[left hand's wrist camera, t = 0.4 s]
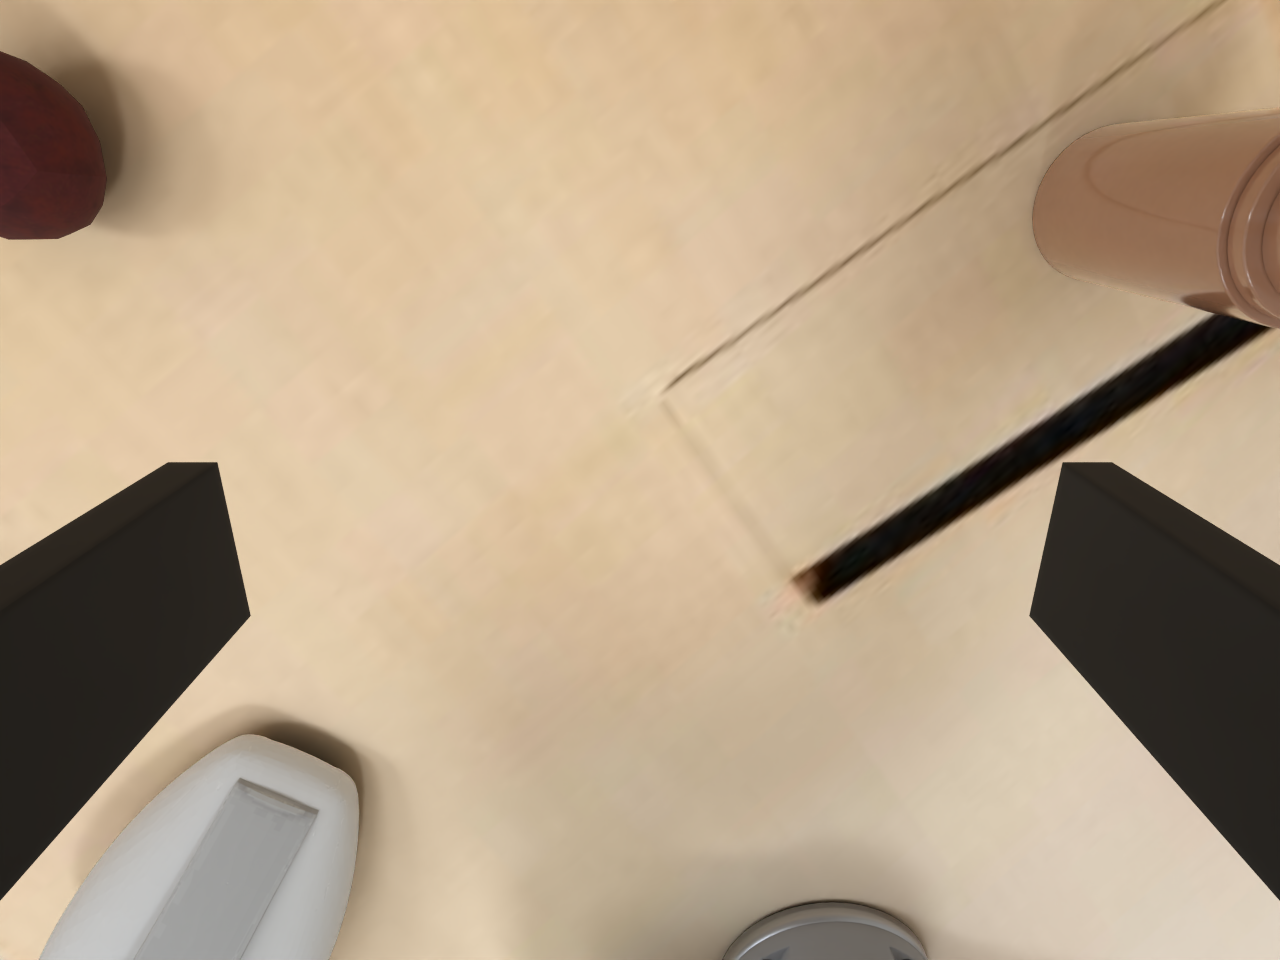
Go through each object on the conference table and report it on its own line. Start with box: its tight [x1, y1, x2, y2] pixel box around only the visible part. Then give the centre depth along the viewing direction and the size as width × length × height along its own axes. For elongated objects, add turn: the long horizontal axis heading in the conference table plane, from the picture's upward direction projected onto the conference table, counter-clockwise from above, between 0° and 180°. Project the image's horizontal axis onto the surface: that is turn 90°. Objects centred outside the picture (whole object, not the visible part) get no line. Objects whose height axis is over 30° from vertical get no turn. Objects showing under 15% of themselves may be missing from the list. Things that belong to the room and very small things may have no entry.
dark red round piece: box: [0, 51, 107, 239], centre depth 32 cm, size 7×8×7 cm
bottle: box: [1033, 107, 1280, 329], centre depth 28 cm, size 7×7×18 cm
